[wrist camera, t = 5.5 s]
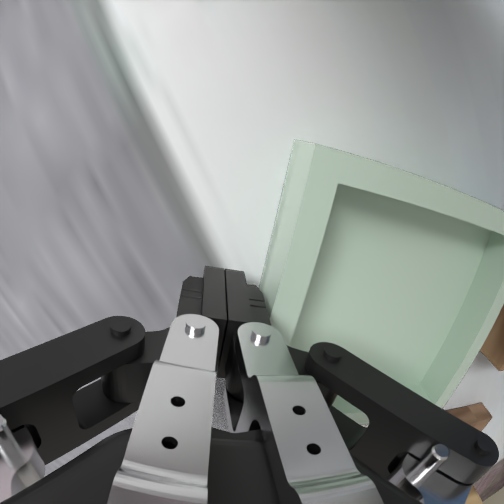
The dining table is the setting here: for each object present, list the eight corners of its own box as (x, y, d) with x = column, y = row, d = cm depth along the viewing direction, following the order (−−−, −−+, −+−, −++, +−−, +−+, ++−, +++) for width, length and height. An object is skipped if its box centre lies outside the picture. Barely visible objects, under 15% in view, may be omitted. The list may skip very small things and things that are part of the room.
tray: (294, 139, 12) (315, 143, 9) (498, 209, 14) (533, 225, 11) (234, 383, 16) (238, 425, 13) (418, 385, 18) (437, 414, 15)
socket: (407, 417, 19) (418, 436, 17) (481, 402, 20) (492, 417, 19) (358, 479, 22) (365, 496, 20) (432, 462, 24) (439, 476, 22)
